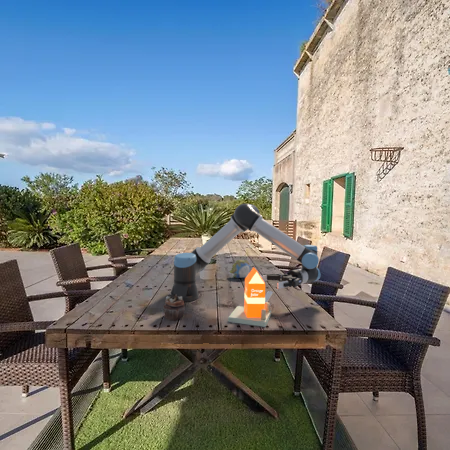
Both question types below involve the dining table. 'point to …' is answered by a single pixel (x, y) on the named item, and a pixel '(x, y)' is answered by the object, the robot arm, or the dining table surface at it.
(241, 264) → the globe
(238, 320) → the plinth
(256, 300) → the orange juice
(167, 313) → the cupcake
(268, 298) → the wrench
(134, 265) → the dining table surface
